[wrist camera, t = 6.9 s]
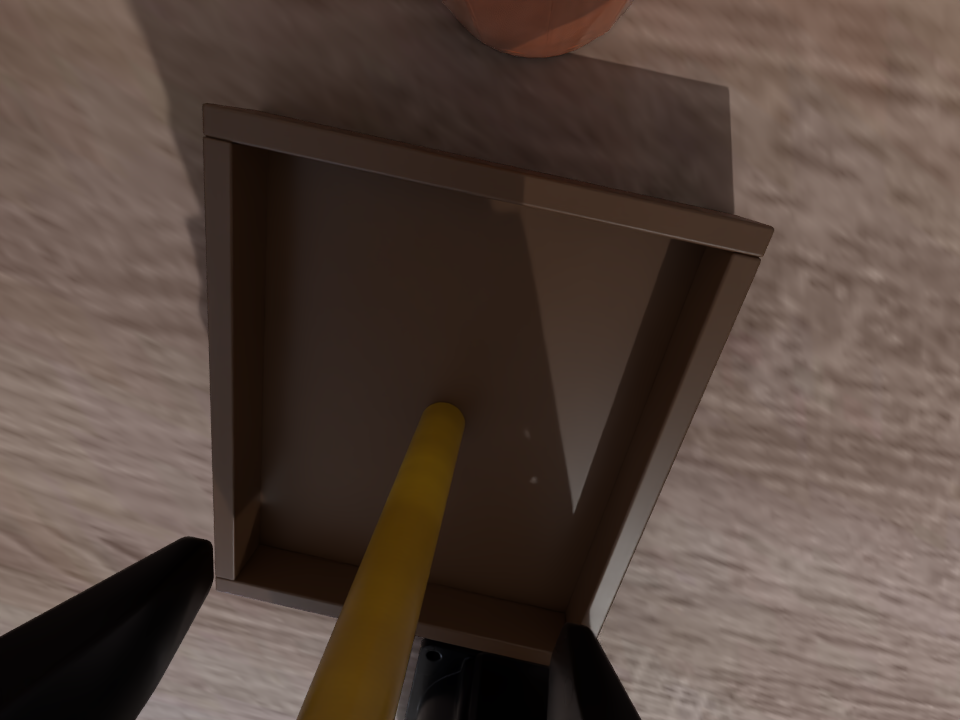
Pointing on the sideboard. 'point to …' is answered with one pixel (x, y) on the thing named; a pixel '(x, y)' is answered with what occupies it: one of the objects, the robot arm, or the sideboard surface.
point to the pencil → (389, 583)
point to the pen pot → (537, 23)
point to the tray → (449, 367)
